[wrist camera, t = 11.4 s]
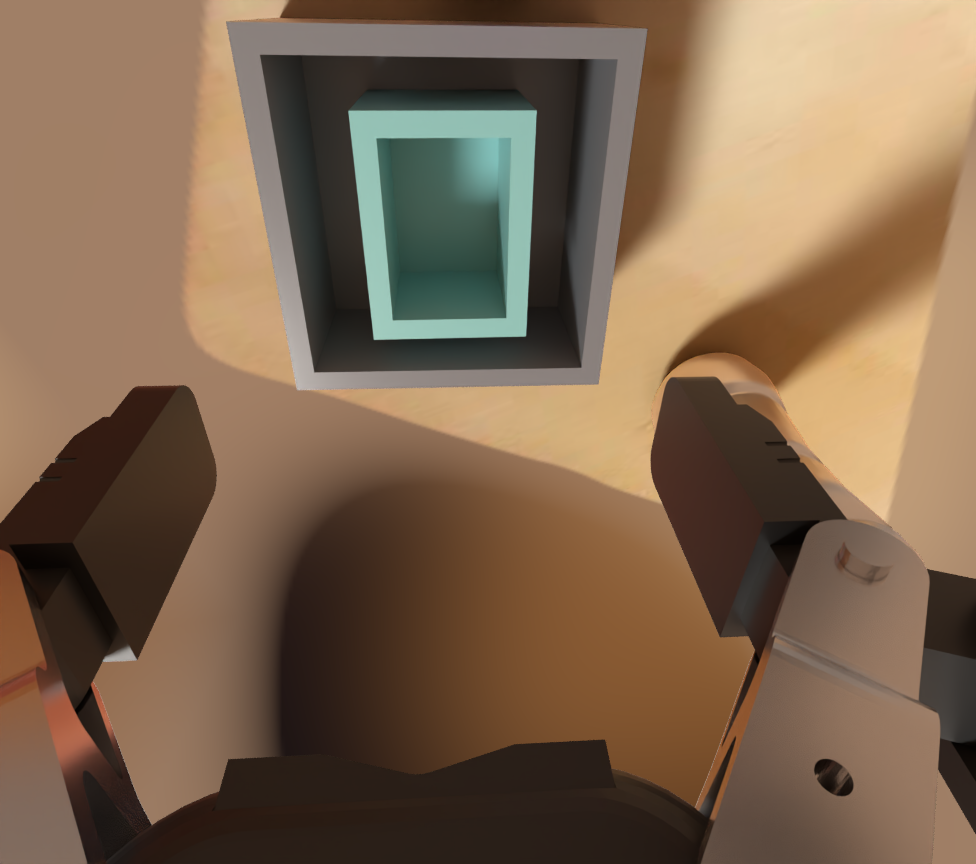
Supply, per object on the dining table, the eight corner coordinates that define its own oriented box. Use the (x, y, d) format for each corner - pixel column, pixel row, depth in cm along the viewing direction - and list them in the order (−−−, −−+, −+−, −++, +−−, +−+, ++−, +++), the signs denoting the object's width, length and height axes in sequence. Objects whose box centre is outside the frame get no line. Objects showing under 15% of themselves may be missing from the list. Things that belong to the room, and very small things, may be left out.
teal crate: (367, 89, 24) (348, 110, 19) (517, 89, 24) (536, 110, 20) (385, 282, 29) (373, 339, 24) (511, 280, 29) (525, 336, 24)
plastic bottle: (764, 330, 32) (1093, 661, 16) (746, 433, 36) (997, 783, 20) (643, 345, 32) (849, 690, 16) (639, 446, 36) (801, 806, 20)
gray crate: (279, 17, 23) (226, 21, 18) (598, 23, 24) (647, 28, 18) (324, 317, 30) (297, 390, 25) (569, 314, 31) (598, 384, 25)
